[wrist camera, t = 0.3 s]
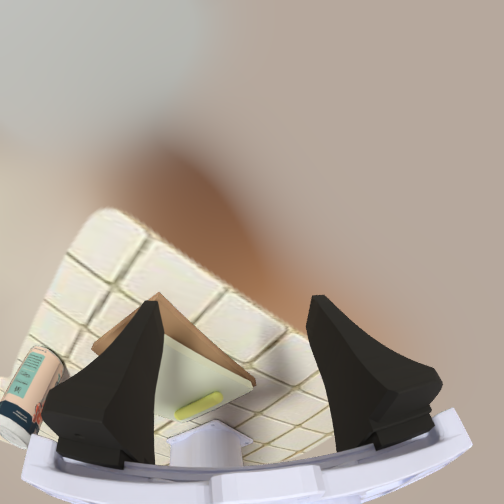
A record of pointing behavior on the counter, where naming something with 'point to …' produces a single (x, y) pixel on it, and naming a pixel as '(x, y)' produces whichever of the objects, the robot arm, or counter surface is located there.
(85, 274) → the counter surface
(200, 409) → the plate
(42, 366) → the beer can
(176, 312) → the walnut base
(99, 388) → the robot arm
